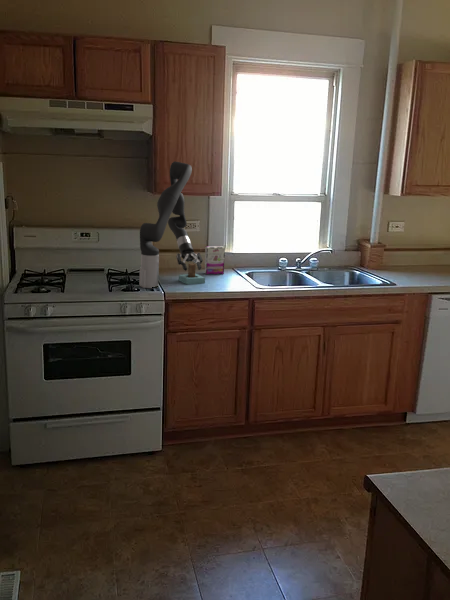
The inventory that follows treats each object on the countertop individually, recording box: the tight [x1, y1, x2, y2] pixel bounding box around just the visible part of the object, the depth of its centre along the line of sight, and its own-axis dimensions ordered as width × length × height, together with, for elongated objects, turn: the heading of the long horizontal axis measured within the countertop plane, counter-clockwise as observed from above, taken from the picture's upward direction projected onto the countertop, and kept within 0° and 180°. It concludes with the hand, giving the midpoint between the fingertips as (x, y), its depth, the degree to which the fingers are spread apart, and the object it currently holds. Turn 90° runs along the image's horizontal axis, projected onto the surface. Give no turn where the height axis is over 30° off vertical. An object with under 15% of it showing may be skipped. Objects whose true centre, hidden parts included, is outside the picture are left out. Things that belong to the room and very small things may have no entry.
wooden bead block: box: [178, 273, 206, 285], centre depth 316 cm, size 11×11×3 cm
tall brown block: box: [187, 262, 197, 278], centre depth 315 cm, size 3×3×10 cm
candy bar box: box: [204, 245, 226, 275], centre depth 339 cm, size 11×5×16 cm, turn 105°
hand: (193, 269), depth 313 cm, fingers open, 8 cm apart
